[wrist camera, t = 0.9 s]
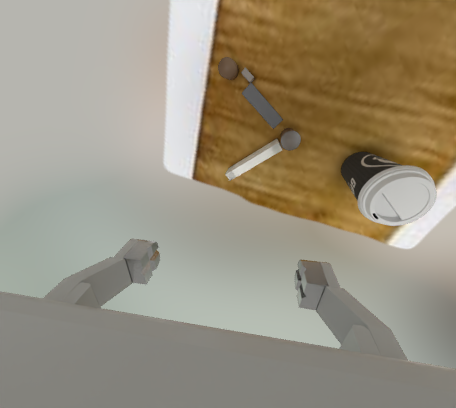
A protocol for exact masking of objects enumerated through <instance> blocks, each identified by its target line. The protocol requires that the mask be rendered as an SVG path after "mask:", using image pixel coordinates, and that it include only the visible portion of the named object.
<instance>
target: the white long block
mask: <svg viewBox="0 0 456 408" xmlns="http://www.w3.org/2000/svg"><path fill="white" fill-rule="evenodd" d="M280 151H282V147H281V145H280V143H279V141H278V139H275V140H274V141H272V142H270V143H269V144H267V145H266V146H264V147H262V148H261V149H259V150H257V151H256V152H254V153H253V154H251V155H249V156H248V157H246V158H244V159H243V160H241V161H240V162H238V163H236V164H235V165H233V166H231V167H230V168H228V170H227V172H226V176H227V177H228V179H229V180H232V179H234V178H235V177H237V176H239V175H241V174H242V173H244V172H246V171H247V170H249V169H251V168H253V167H254V166H256V165H258V164H259V163H261V162H263V161H265V160H266V159H268V158H270V157H272V156H273V155H275V154H277V153H278V152H280Z"/></svg>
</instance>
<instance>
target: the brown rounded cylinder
mask: <svg viewBox="0 0 456 408" xmlns="http://www.w3.org/2000/svg"><path fill="white" fill-rule="evenodd" d="M218 70H219V73H220V75H221V76H222V77H224V78H226V79H230V80H232V79H235V78H236V77H237V75H238V73H239V68H238V65H237V64H236V63H235V62H234V61H233V60H232V59H231V58H229V57H225V58H223V59H222V60H221V61H220V62H219V65H218ZM241 73H242V74H243V75H244V77H245V78H246V79H247V80H248V81H249V82H250V83H251V82H252V81H253V80H254V79H255V78H254V77H253V76H252V74H251V73H250V72H249V71H248V70H247V69H246V67H245V68H244V70H243V71H242V72H241Z"/></svg>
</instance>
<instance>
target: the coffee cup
mask: <svg viewBox="0 0 456 408" xmlns="http://www.w3.org/2000/svg"><path fill="white" fill-rule="evenodd" d="M341 173H342V176H343V178H344V179H345V181H346V183H347V184H348V186H349V187H350V189H351V191H352V192H353V194H354V196H355V197H356V199H357V201H358V207H359V210H360V212H361V213H362V214H363V215H364V216H365V217H366V218H368V219H370V220H371V221H374V222H377V223H380V224H384V225H390V226H398V225H404V224H408V223H411V222H413V221H415V220H417V219H419V218H421V217H422V216H424V215H425V214H426V213H427V212H428V211H429V210H430V209H431V208H432V206H433V205H434V203H435V200H436V196H437V193H436V189H435V184H434V181H433V179H432V178H431V176H430V175H429V174H428V173H427V172H426V171H425V170H423V169H421V168H419V167H415V166H403V165H400V164H397V163H395V162H392V161H389V160H387V159H384V158H381V157H379V156H376V155H373V154H371V153H368V152H358V153H355V154H353V155H351V156H349V157H348V158H347V159H346V160H345V161H344V163H343V165H342V168H341Z"/></svg>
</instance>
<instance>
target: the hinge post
mask: <svg viewBox="0 0 456 408" xmlns="http://www.w3.org/2000/svg"><path fill="white" fill-rule="evenodd" d="M300 141H301V138H300V135H299V134H298V133H297V132H296V131H294V130H293V129H291V128H286V129H284V130H283V131H282V133H281V145H282V147H283V148H284V149H286V150H294V149H296V148H297V147H298V146H299V144H300Z"/></svg>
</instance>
